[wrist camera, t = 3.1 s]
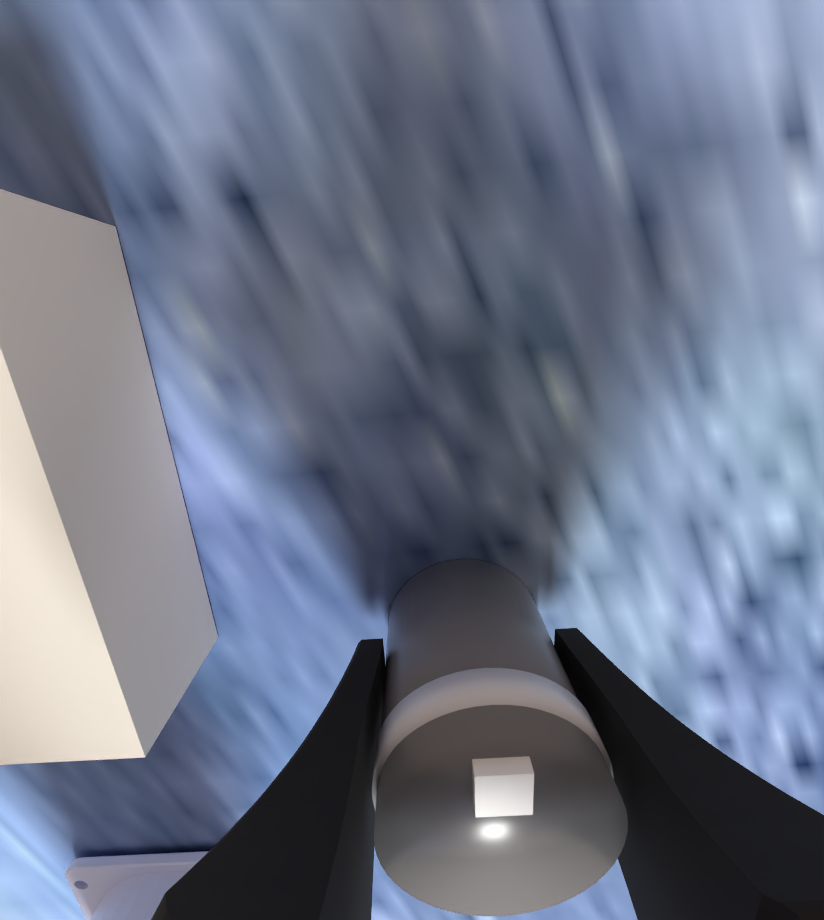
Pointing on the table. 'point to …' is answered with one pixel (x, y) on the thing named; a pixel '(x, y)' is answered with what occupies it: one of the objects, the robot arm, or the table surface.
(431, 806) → the lens
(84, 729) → the camera body
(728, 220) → the table surface
